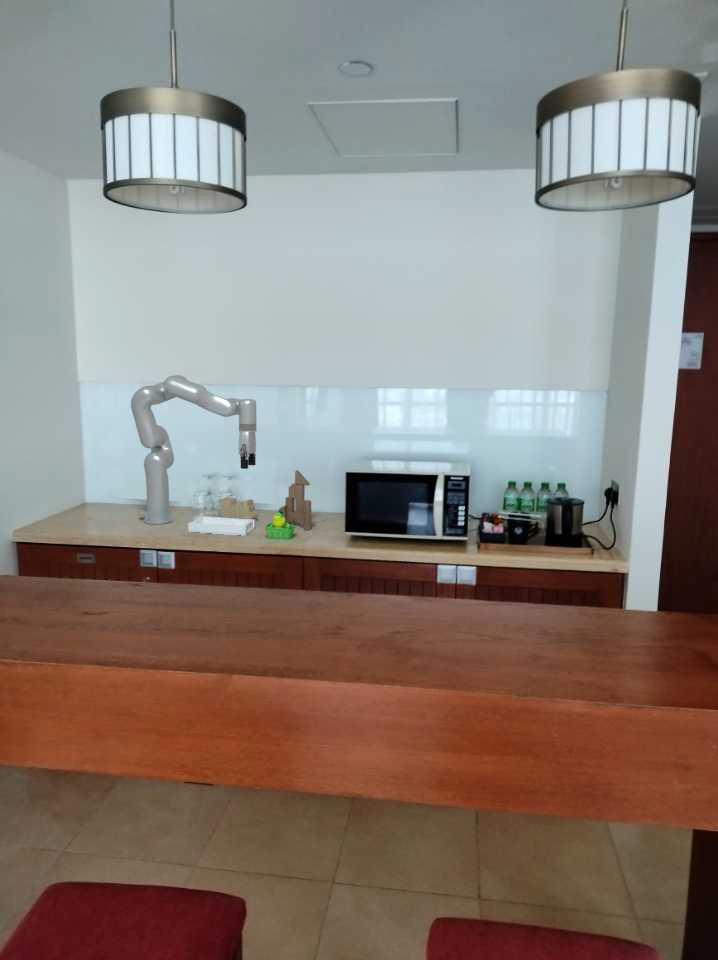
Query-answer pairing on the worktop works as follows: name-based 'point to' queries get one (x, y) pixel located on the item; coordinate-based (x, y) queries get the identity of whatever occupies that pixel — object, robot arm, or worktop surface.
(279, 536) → the fruit basket
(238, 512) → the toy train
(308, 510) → the wooden toy
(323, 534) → the worktop surface
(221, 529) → the white tray
